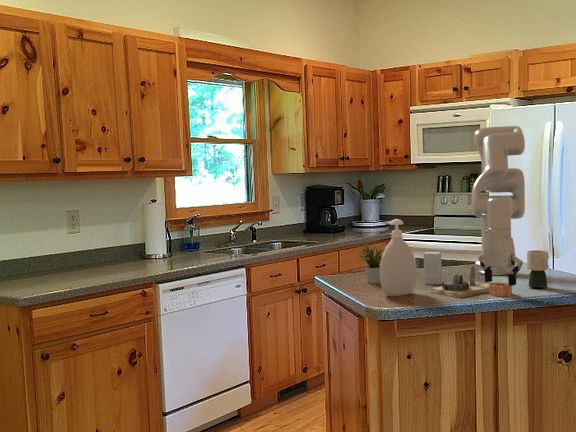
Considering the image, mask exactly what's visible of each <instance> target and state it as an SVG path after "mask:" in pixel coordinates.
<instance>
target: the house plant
mask: <svg viewBox="0 0 576 432" xmlns="http://www.w3.org/2000/svg"><path fill="white" fill-rule="evenodd" d="M356 246H358V247H357V248H361V249H362V250H361V249H359V251H360V252H362V253H363V255H364V256H361V257H360V259H361V260H362V261H363V263H365V264H367V265H365V266H364V269H365V275H366V280H367V283H369V284H381V282H380V264H381V257H382V255H383V253H382V252H384V250H385V248H386V246H384V247H383V248H381V249H379V246H378V243H377V245H375V244H373V247H372V249H370V247H369V245H368V244H365V246H364V247H363V246H359V245H358V244H356Z"/></svg>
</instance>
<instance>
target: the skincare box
mask: <svg viewBox="0 0 576 432" xmlns="http://www.w3.org/2000/svg"><path fill="white" fill-rule="evenodd" d="M442 268H443V264H442V252H441V251H425V252H423V269H424V270H423V273H424V285H434V286H435V285H437V286H439V285H440V286H441V285H442V283H443V269H442Z"/></svg>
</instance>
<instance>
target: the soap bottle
mask: <svg viewBox="0 0 576 432" xmlns="http://www.w3.org/2000/svg"><path fill="white" fill-rule="evenodd" d="M387 224H389V225H390V226H394V229H393V230H392V231H391V239H390V241H389V242H388V243H387V245H385V247H386V248H385V249H384V250H383V251H382V252H383V253H382V254H381V255H382V257H381V260H380V261H381V262H380V264H379V265H380V287H381V289H382V291H383V292H384V294H385V295H386V297H391V298H392V297H393V298H394V297H395V298H396V297H401V296H402V297H403V296H407V295H410V294H412V292H413V291H414V288H415V286H416V281H417V280H416V279H417V267H416V266H417V265H416V260H415V255H414V253H413V250H412V249H411V248H410V246H409V244H408V243H407V242H406V241H405V240H404V239H403V231H402V230H401V229H399V225H400V226H401V225H404V222H403V220H401V219H398V218H394V219H392V220H390V221H387Z"/></svg>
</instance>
